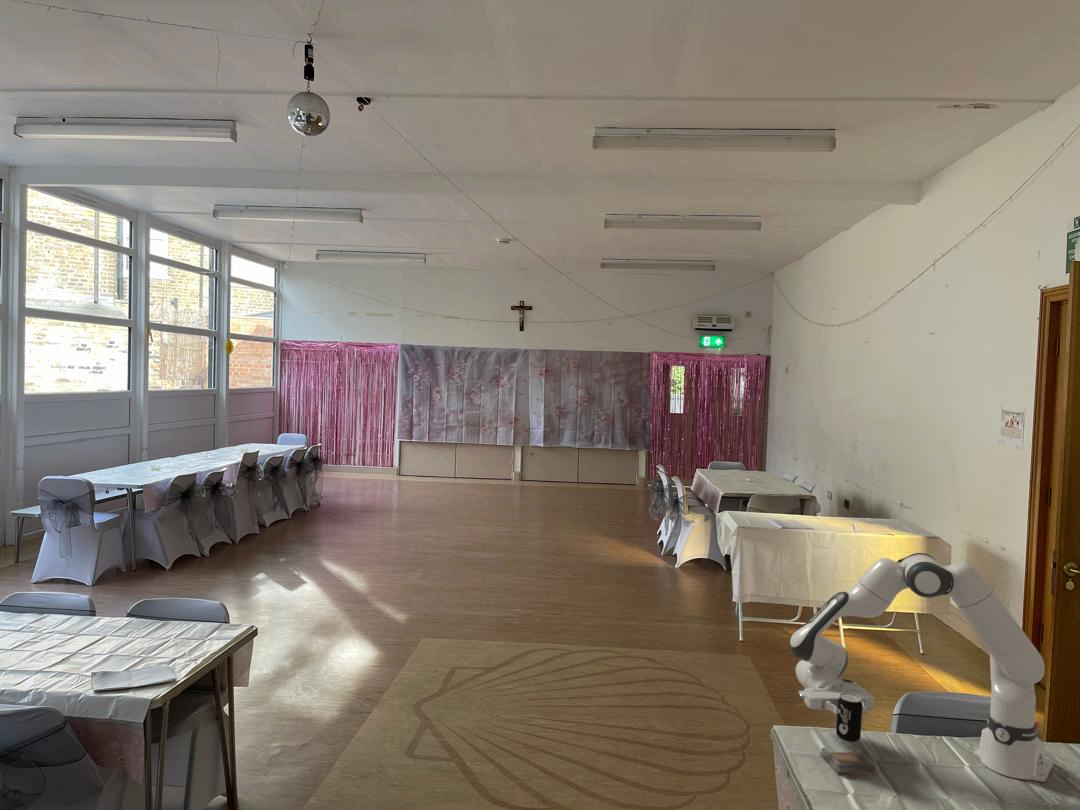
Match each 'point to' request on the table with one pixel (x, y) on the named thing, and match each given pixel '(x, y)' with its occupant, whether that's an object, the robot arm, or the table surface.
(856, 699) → the beverage can
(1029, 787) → the table surface
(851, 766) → the brown flat square tray
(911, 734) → the table surface
